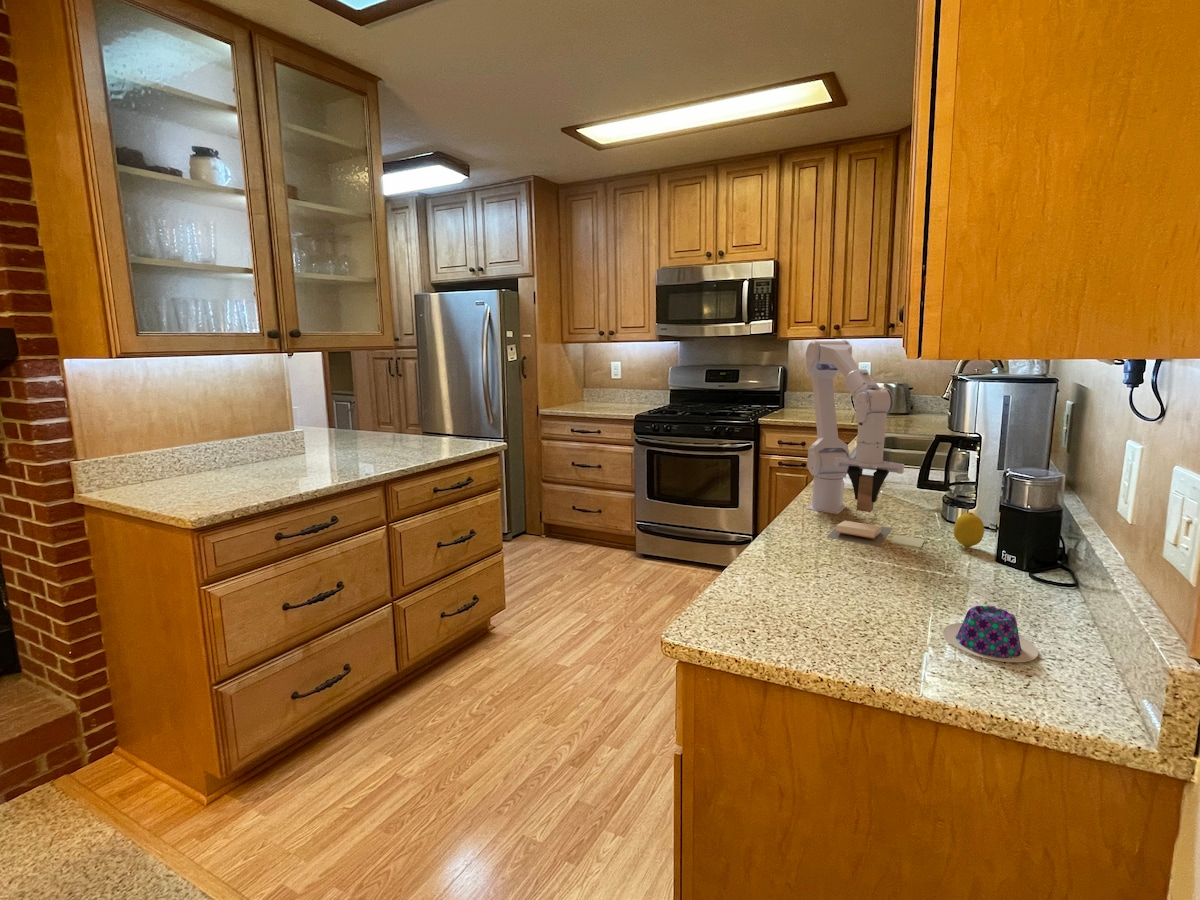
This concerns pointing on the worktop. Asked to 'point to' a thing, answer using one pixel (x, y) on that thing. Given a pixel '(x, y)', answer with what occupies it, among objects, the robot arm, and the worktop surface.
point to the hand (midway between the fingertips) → (865, 500)
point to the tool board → (907, 541)
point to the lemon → (968, 530)
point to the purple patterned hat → (991, 635)
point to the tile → (858, 529)
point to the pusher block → (865, 493)
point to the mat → (860, 539)
